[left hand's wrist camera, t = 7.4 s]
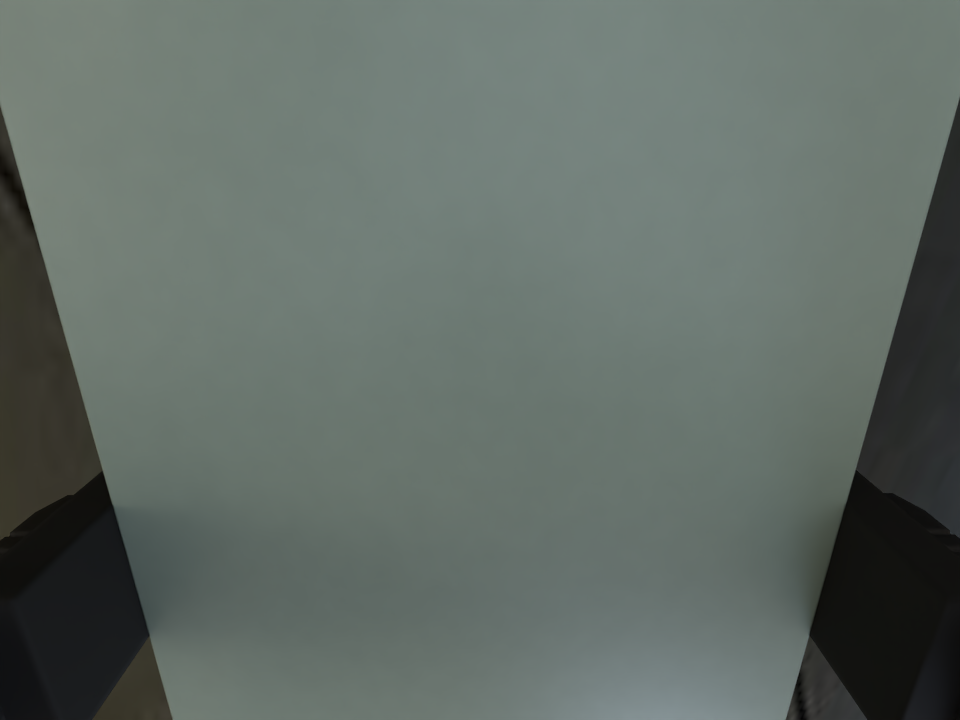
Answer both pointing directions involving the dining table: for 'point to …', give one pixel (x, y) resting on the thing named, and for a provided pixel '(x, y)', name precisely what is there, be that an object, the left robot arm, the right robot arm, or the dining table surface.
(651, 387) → the cabinet
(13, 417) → the dining table surface
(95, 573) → the left robot arm
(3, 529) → the dining table surface
